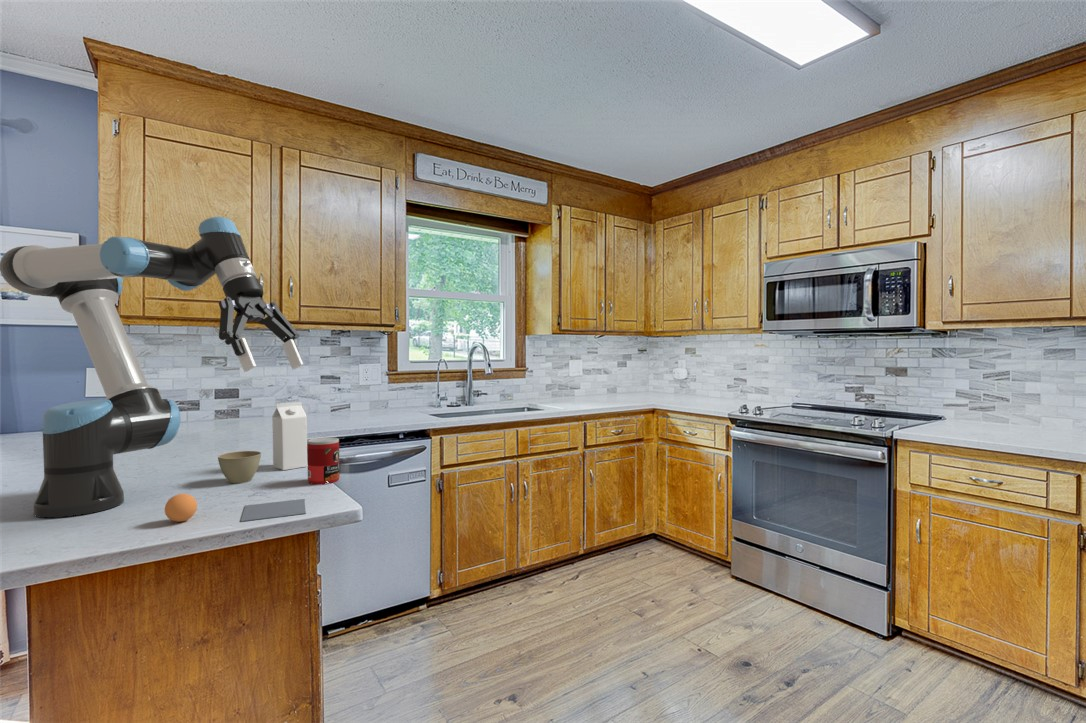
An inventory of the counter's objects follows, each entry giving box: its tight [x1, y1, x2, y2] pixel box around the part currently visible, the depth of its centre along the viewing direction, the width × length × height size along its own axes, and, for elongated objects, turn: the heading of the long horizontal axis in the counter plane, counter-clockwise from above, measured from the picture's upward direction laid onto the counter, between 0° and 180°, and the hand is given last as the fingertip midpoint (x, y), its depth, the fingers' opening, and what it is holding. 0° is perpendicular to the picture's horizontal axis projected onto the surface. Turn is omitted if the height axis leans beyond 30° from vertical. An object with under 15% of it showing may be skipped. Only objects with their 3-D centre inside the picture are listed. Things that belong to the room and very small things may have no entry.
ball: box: [164, 493, 198, 523], centre depth 110 cm, size 6×6×6 cm
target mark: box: [240, 498, 307, 523], centre depth 117 cm, size 12×12×1 cm
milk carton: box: [271, 401, 308, 471], centre depth 160 cm, size 7×7×19 cm
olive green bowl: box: [217, 450, 262, 484], centre depth 143 cm, size 10×10×7 cm
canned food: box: [307, 436, 341, 485], centre depth 143 cm, size 8×8×11 cm
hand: (275, 368), depth 119 cm, fingers open, 13 cm apart
